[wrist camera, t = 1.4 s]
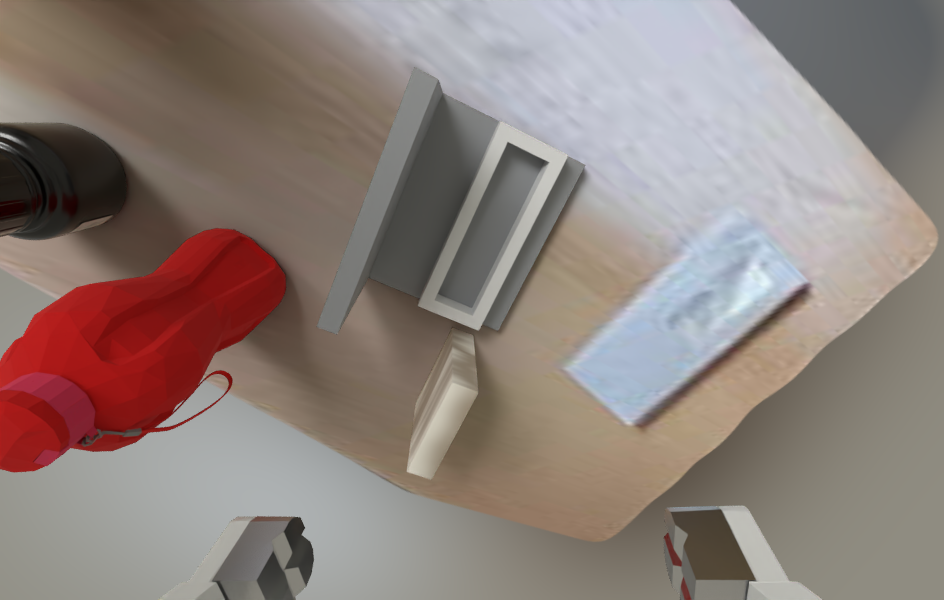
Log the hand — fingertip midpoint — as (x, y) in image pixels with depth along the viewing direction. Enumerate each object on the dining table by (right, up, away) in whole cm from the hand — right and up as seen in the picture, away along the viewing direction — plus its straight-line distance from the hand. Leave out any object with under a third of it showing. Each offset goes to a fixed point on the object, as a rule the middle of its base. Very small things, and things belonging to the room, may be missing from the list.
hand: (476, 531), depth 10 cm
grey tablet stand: (-1, +13, +33) cm, 36 cm away
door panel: (-3, -2, +39) cm, 40 cm away
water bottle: (-23, +7, +35) cm, 42 cm away
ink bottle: (-35, +16, +31) cm, 50 cm away
